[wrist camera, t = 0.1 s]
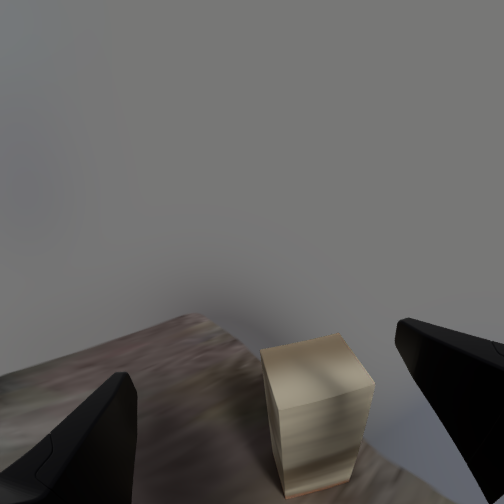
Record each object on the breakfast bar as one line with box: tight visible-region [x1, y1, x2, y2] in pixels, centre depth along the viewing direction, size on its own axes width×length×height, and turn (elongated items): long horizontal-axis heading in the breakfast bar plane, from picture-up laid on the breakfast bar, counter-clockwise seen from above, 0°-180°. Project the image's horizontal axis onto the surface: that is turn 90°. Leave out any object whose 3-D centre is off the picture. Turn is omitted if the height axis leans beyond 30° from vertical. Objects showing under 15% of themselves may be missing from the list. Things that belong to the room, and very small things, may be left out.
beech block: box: [260, 333, 375, 499], centre depth 17 cm, size 5×5×12 cm
